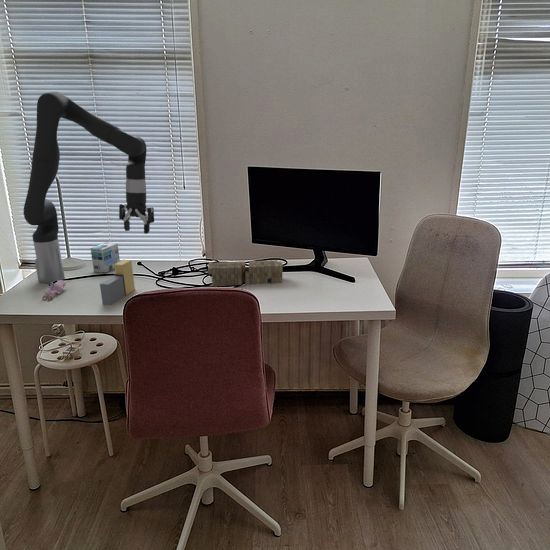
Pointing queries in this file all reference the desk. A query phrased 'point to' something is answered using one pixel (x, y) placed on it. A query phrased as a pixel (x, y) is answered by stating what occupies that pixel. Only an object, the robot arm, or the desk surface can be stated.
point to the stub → (126, 274)
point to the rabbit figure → (54, 289)
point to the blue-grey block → (113, 289)
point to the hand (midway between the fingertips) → (136, 232)
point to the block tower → (245, 272)
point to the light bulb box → (105, 256)
